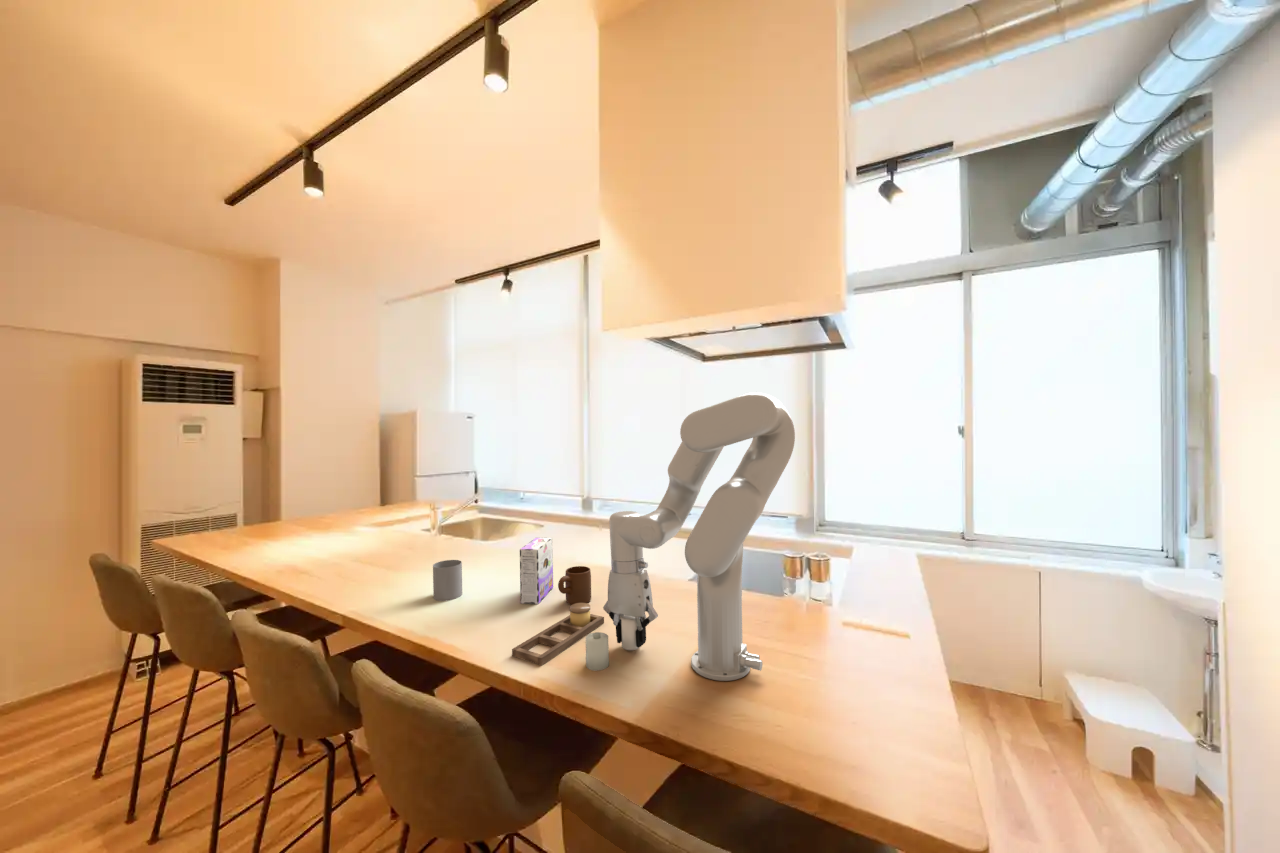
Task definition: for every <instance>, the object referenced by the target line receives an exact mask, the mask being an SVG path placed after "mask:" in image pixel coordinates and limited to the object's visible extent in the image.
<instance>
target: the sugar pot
mask: <svg viewBox="0 0 1280 853" xmlns="http://www.w3.org/2000/svg"><path fill="white" fill-rule="evenodd" d="M609 649H610V648H609V635H608V634H607V633H605V632H601V631H600V632H599V631H595V632H592V633H591V632H590V633H589V634H587V635H586V636H585V666H586V668H587V669H588V670H590V671H596V672H597V671H601V670H602V671H603V670H605V669H607V668H608V667H609V665H610V658H609V656H610V654H609V652H610V651H609Z"/></svg>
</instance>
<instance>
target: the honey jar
mask: <svg viewBox="0 0 1280 853" xmlns="http://www.w3.org/2000/svg"><path fill="white" fill-rule="evenodd" d="M590 614H591V604H589V602H588V603H575V604H573V605H570V606H569V615H570V624H571V625H575V626H579V627H584V626H586V625H587V624H589V623H590Z"/></svg>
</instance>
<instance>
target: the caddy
mask: <svg viewBox="0 0 1280 853" xmlns="http://www.w3.org/2000/svg"><path fill="white" fill-rule="evenodd" d="M604 624H605V616H601V615H597V614H593V613H590V623H589V624H587V625H586V626H584V627H579V626H575V625H571V624H570V614H569V615H568V616H566V617H564V618H562V619H561V620H559V621H557V622H556V623H554V624H552V625H550V626H549V627H547V628H545V629H543V630H542V631H540V632H539V633H537V634H535V635H533V636H531V637H530V638H528V639H527V640H525V641H524V642H521V643H520V644H519V645H517V646H515V647H513V648H512V649H511V656H512V657H514V658H517V659H519V660H520V659H521V660H523V661H526V662H529V663H533V664H536V665H540V666H543V665H545V664H546V663H549V661H551V660H552V659H554V658H555V657H557V656H558V655H559V654H561V653H562V652H564V651H565V650H567V649H569V648H570V647H572V645H574V644H576V643H577V642H579V641H580V640H581V639H583V638H584V637H586V636H587V635H589V634H591V632H592V633H593V631H595V630H596V629H597V628H599V627H601V626H602V625H604ZM559 631H561V632H564V633H568V634H570V635H569V636H568V637H566V638H564V639H561V638H556V637H552V636H553V635H554V634H556V633H558V632H559ZM538 644H542V645H545V646H547V647H548V646H549V647H550V648H549V649H548V650H545V651H544V652H543V653H542V654H541V653H537V652H534V651H531V650H530V649H532V648H534V647H535V646H536V645H538Z"/></svg>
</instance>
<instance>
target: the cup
mask: <svg viewBox="0 0 1280 853" xmlns="http://www.w3.org/2000/svg"><path fill="white" fill-rule="evenodd" d="M462 565H463V562H462V560H458V559H446V560H441V561H438V562H435V563H433V564H432V580H433V581H432V583H433V584H432V585H433V586H432V587H433V588H432V589H433V600H435V601H438V602H444V601H452V600H455V599H458V598H460V597H462V596H463V566H462Z"/></svg>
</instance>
